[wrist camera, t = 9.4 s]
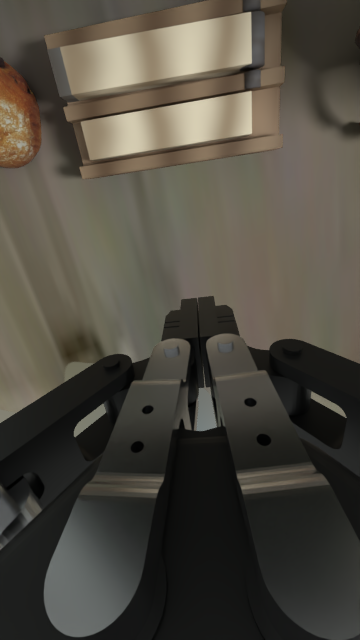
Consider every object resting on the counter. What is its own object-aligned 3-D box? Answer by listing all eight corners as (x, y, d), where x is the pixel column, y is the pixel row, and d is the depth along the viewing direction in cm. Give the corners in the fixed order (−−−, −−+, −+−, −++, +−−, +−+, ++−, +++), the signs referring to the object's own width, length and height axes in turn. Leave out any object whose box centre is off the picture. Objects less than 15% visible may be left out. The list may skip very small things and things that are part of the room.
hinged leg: (260, 22, 26) (268, 8, 24) (260, 69, 27) (267, 60, 25) (57, 59, 27) (46, 49, 25) (68, 102, 28) (59, 96, 26)
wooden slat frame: (275, 8, 27) (290, -24, 23) (272, 150, 33) (285, 146, 28) (61, 52, 29) (39, 31, 25) (93, 178, 35) (79, 179, 30)
